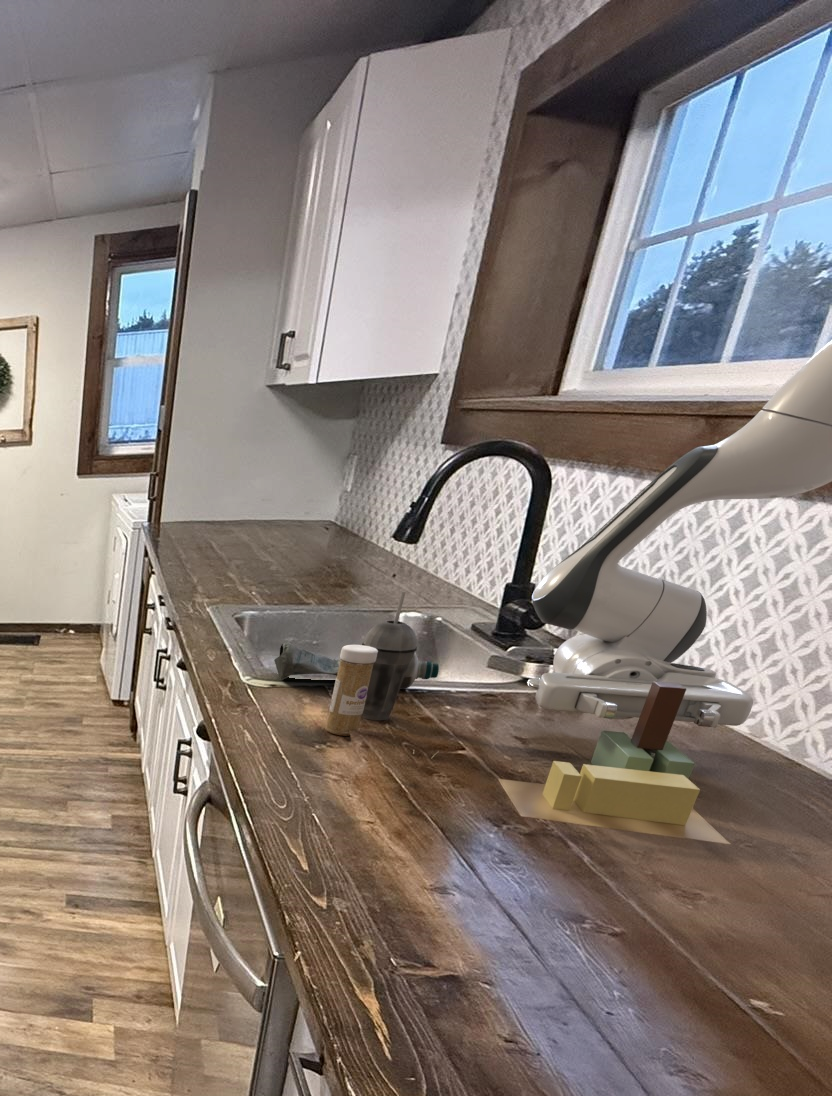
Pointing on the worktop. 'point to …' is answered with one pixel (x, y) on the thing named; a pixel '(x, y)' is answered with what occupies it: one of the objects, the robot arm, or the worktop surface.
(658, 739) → the wood-handled putty knife
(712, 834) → the butter board
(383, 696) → the beverage cup
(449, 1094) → the worktop surface
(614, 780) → the butter
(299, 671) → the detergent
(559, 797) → the butter slice
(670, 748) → the knife block
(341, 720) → the sprinkles bottle
